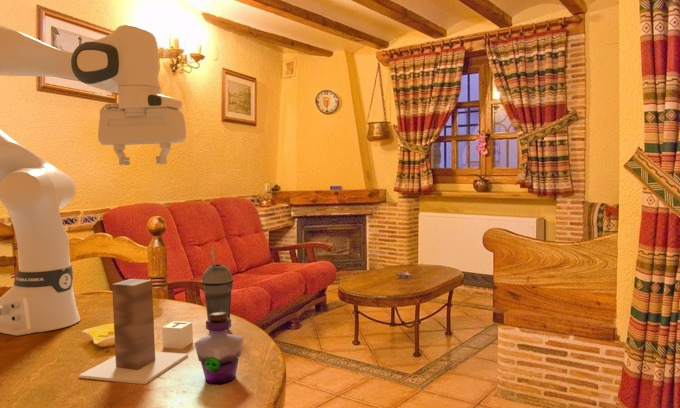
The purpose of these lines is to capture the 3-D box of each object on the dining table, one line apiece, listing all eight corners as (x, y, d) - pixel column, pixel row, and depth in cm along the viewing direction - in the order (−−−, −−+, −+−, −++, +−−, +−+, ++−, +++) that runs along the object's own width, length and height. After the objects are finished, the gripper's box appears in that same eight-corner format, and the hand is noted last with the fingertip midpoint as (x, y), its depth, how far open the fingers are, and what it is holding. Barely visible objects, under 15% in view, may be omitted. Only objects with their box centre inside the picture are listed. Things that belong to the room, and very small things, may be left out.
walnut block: (116, 367, 97) (112, 284, 96) (134, 358, 102) (130, 278, 101) (137, 370, 96) (133, 285, 95) (155, 360, 100) (151, 279, 99)
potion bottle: (194, 391, 87) (191, 321, 86) (196, 372, 96) (194, 308, 95) (246, 385, 89) (244, 317, 88) (243, 367, 97) (241, 305, 97)
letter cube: (163, 347, 110) (162, 326, 109) (174, 341, 114) (173, 320, 114) (182, 349, 108) (181, 327, 108) (192, 342, 113) (192, 321, 113)
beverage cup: (227, 335, 117) (224, 248, 115) (197, 334, 118) (194, 248, 117) (239, 326, 124) (237, 243, 122) (211, 324, 125) (208, 243, 124)
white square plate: (78, 377, 94) (78, 375, 94) (128, 351, 107) (128, 349, 107) (145, 384, 90) (145, 381, 90) (188, 356, 104) (187, 353, 104)
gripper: (89, 102, 113) (93, 165, 113) (172, 97, 107) (174, 163, 108) (109, 106, 119) (112, 165, 120) (188, 101, 114) (190, 163, 114)
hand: (142, 164), depth 114 cm, fingers open, 8 cm apart
